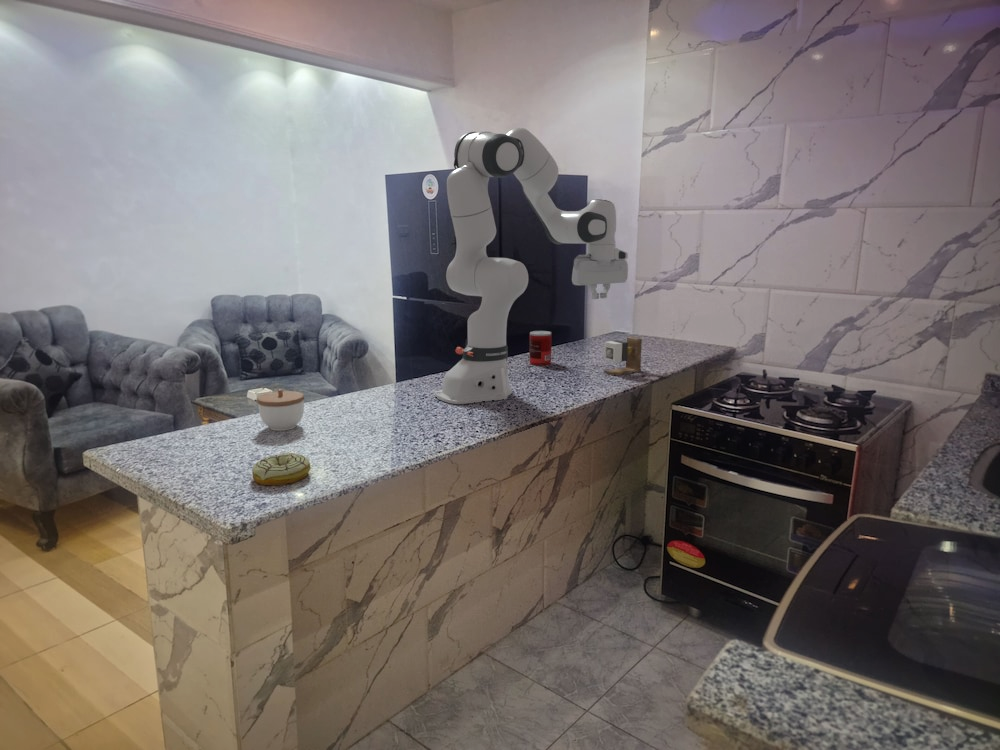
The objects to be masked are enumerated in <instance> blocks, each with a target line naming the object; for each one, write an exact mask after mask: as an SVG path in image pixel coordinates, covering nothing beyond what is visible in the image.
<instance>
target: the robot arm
mask: <svg viewBox="0 0 1000 750" xmlns="http://www.w3.org/2000/svg"><path fill="white" fill-rule="evenodd" d="M453 153H454V154H453V156H454V161H453V167H454V170H453V171H451V172H450V173H449V174H448V176H447V179H446V193H447V202H448V209H449V211H450V217H451V220H452V224H453V231H454V235H455V240H456V248H455V256H454V257H453V259H452V260H451V262H450V263H449V264H448V266H447V269H446V273H445V277H446V283H447V285H448V287H449V289H450V290H452V291H453V292H456V293H458V294H461V295H464V296H472V297H481V303H480V306H479V308H478V309H476V311H474V312H472V313H471V314H470V315H469V317H468V318H467V344H466V345H465V347H464V348H463V347H461V346H457V347H456V348H455V350H454V351H455V353H456V354H457V355H462V356H461V357H462V358H461V360H460V359H459V361H458V362H457V363H456V364H455V365H454V366H453V367H452V368H450V369H449V370H448V371H447V372H446V373H445V374H444V376H443V380H442V387H441V389H439V390H435V392H434V397H435V398H436V397H437V398H436V399H437V400H440V401H442V402H445V403H448V404H455V405H464V404H474V402H475V403H483V402H482V401H485V402H492V400H494V401H503V400H502V399H504V400H507V399H508V397H509V396H510V395H511V394H512V392H513V390H512V388H511V384H510V379H509V374H508V373H509V372H508V359H509V358H508V357H509V356H508V355H509V353H508V352H509V351H508V349H509V348H508V344H507V328H508V318H509V312H510V310H511V308H512V306H513V304H514V302H515V301H516V300H517V299H518V298H519V297H520V296H521V295H522V294H524V292H525V291H526V289H527V288H528V286H529V285H528V284H529V273H528V269H527V268H526V266H525V264H524V263H522V261H518V260H515V259H512V258H508V257H488V254H487V246H488V245H490V243H492V242H493V240H494V239H495V237H496V235H497V227H496V222H495V217H494V213H493V208H492V203H491V200H490V196H489V189H488V187H489V181H490V178H499V179H500V178H505V177H508V176H510V175H514V176H515V178H516V179H517V180H518V181H519V183H520V184H521V188H522V193H523V195H524V197H525V199H526V200H527V202H528V203H529V205H530V207H531V209H532V210H533V212H534V213H535V214H536V216H537V217H538V219H539V221H540V222H541V225H542V227H543V229H544V232H545V235H546V237H547V238H548V240H549V241H550V242H551V243H553V244H555V245H565V244H570V245H571V244H575V245H576V244H577V245H578V244H583V245H585V244H586V254H585V253H584V254H578V255H577V256H576V257H575V258H574V260H573V266H572V267H573V268H572V273H571V282H572V285H574V286H588V288H589V291H590V292H591V299H592V300H599V299H607V298H608V293H609V290H610V289H611V285H612V284H622V283H626V282H627V280H628V277H629V266H628V265H629V264H628V261H627V259H628V257H629V256H628V255H629V254H628V252H626V251H624V250H622V249H619V248H617V247H616V239H615V236H616V235H615V234H616V231H617V211H616V207H615V203H613V202H612V201H610V200H607V199H592V200H590V202H589V204H588V205H587V206H585V207H584V208H581V209H580V210H574V211H573V210H568V211H567V210H562V209H560V208H558V207H557V206H556V204H555V202H553V200H552V198H551V196H550V195H549V192H550V191H551V190H552V188H553V187H554V186H555V184H556V182H558V177H559V167H558V164H557V162H556V160H555V158H554V157H553V156H552V155H551V153H550V151H548V150H547V148H546V147H545V145H544V144H543V143H542V142H541V141H540V140H539V139H538V138H537V137H536V136H535V135H534V134H533V133H532V132H531V131H529V130H528V129H527V128H524V127H515V128H514V129H511V130H509V131H508V132H506V133H505V134H504V133H495V132H492V131H470V132H467V133H465V134H463V135H462V136H461V137H459V139H458V140H457V141H456V143H455V147H454V152H453ZM598 285H602V287H603V289H602V291H601V292H599V293H598V291H597V287H598Z"/></svg>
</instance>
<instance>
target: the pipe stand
mask: <svg viewBox="0 0 1000 750" xmlns="http://www.w3.org/2000/svg"><path fill="white" fill-rule="evenodd" d="M626 342H628V356H627V361H625V367H619V368H613V369H607V370H603V374H605V373H607V374H606V375H609V374H611V375H610V376H613V375H616V376H621V375H620V374H622V375H627V374H626V373H628V374H632V373H631V372H634V373H639V372H638V371H641V372H642V368H641V364H642V363H641V362H642V346H643V345H642V343H643V338H640V337H634V336H628V337H626ZM607 355H608V357H613V349H611V350H608V351H607Z"/></svg>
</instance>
